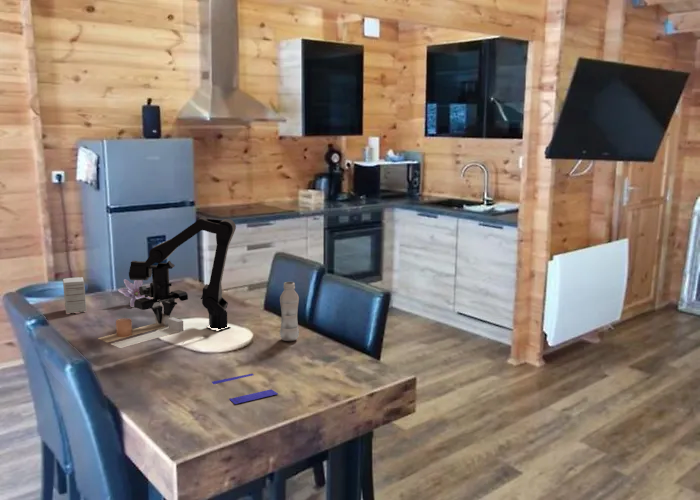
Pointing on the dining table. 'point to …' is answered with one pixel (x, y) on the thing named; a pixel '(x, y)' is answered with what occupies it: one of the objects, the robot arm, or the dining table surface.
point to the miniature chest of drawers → (74, 294)
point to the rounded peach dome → (124, 327)
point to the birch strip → (140, 329)
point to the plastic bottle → (289, 313)
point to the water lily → (132, 290)
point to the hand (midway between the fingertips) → (162, 322)
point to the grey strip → (153, 333)
